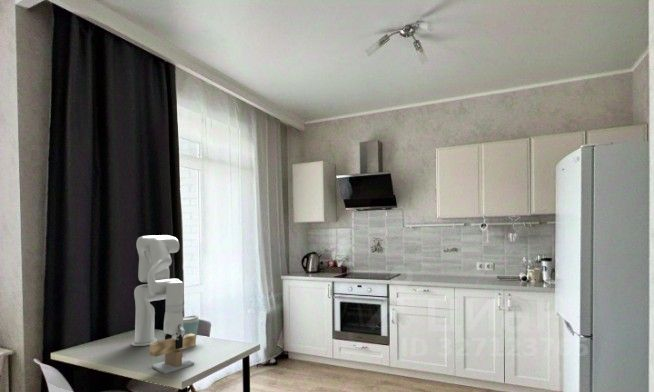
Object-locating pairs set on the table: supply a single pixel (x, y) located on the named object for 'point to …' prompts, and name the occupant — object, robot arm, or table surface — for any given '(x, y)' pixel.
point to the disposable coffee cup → (190, 324)
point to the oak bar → (171, 345)
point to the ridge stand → (172, 362)
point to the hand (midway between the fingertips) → (173, 346)
